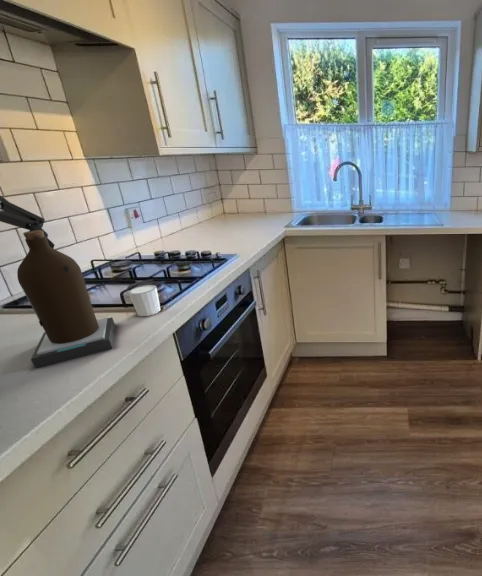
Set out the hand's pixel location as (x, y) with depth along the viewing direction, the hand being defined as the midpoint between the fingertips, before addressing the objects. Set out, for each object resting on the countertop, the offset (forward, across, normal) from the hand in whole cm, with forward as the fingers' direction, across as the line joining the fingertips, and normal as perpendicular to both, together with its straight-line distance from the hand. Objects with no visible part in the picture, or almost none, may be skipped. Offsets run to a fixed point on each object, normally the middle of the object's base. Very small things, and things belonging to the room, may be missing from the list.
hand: (18, 257), depth 82 cm
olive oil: (+19, 0, +8) cm, 21 cm away
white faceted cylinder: (+22, +19, +9) cm, 30 cm away
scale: (+21, 0, +10) cm, 23 cm away
